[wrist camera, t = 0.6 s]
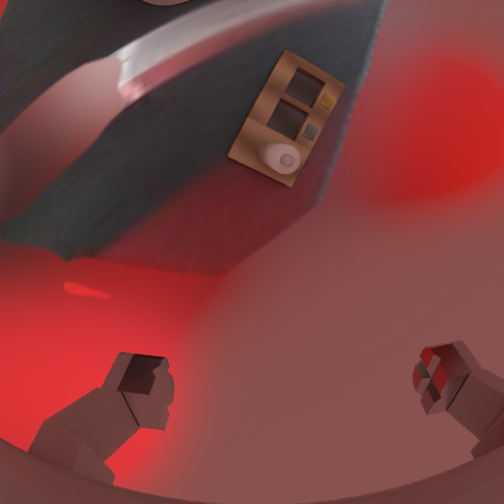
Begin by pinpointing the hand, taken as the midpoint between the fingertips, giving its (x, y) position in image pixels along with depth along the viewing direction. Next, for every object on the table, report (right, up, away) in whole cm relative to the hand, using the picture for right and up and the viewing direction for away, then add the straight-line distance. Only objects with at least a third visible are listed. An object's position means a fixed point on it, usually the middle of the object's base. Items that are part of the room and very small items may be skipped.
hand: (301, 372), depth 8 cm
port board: (+4, +27, +39) cm, 47 cm away
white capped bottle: (+1, +20, +39) cm, 43 cm away
